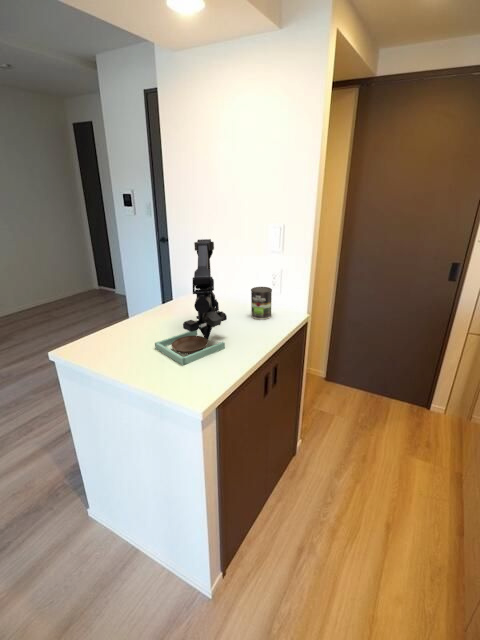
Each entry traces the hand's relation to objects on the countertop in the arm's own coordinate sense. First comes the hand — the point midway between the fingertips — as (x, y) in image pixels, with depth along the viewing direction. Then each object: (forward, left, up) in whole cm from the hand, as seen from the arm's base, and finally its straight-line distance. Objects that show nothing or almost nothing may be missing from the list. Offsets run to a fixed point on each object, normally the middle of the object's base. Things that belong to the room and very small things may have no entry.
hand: (206, 339), depth 139 cm
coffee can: (-5, +38, -1) cm, 39 cm away
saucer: (0, -9, -1) cm, 9 cm away
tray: (0, -9, -1) cm, 9 cm away
